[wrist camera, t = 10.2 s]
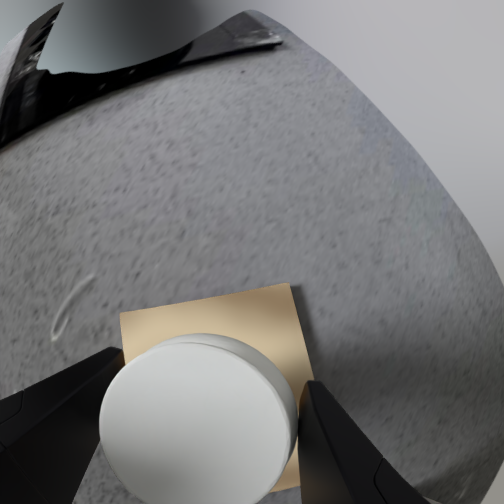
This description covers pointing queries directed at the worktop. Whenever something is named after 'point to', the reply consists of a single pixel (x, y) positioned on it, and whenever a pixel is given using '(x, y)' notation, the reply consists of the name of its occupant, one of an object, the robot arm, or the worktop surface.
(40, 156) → the worktop surface
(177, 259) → the worktop surface
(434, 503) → the lotion bottle
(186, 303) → the oak board
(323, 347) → the worktop surface
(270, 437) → the supplement bottle
